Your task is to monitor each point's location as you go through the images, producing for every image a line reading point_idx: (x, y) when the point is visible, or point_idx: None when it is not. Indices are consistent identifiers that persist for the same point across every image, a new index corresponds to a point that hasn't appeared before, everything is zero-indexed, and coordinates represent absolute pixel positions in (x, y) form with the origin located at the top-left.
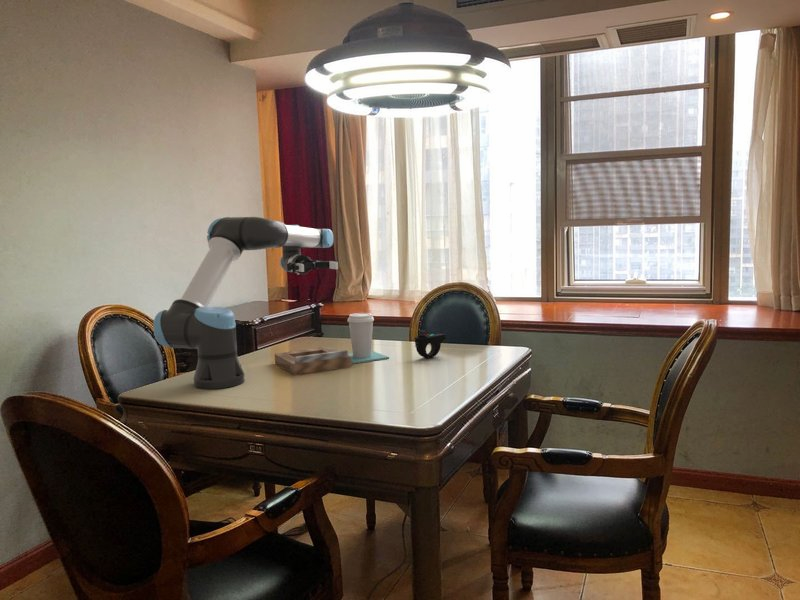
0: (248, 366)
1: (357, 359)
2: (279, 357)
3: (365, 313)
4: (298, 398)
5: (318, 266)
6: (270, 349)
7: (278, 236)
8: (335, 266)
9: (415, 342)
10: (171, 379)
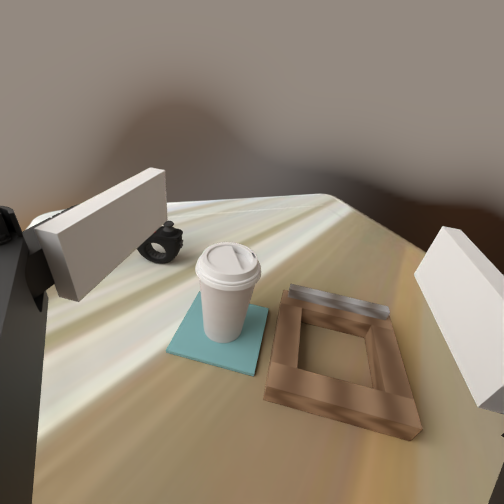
0: (487, 475)
1: (248, 316)
2: (409, 390)
3: (207, 259)
4: (395, 260)
5: (20, 483)
6: None
7: None
8: (159, 206)
9: (181, 242)
10: None
